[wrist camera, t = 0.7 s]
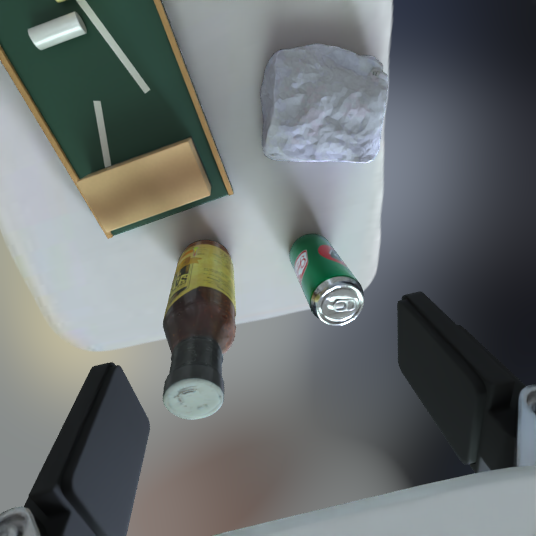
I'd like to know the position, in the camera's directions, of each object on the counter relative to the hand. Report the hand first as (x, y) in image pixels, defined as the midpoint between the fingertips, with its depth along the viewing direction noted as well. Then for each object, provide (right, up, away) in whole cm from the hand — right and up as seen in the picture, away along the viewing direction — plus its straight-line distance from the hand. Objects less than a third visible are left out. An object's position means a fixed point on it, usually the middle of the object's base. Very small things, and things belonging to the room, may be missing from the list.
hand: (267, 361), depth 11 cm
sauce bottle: (-7, +4, +28) cm, 30 cm away
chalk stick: (-17, +22, +16) cm, 32 cm away
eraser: (-11, +12, +22) cm, 28 cm away
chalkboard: (-14, +20, +19) cm, 31 cm away
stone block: (+5, +19, +22) cm, 30 cm away
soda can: (+5, +5, +29) cm, 30 cm away
